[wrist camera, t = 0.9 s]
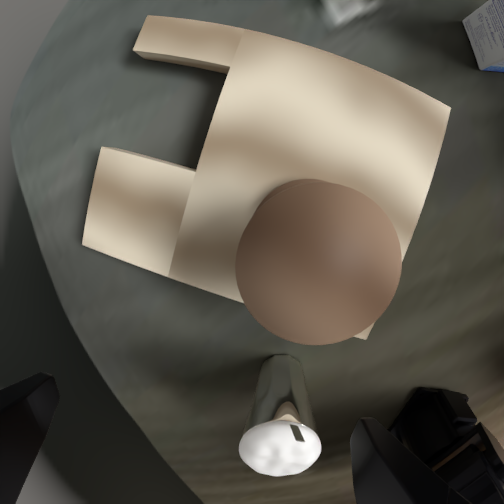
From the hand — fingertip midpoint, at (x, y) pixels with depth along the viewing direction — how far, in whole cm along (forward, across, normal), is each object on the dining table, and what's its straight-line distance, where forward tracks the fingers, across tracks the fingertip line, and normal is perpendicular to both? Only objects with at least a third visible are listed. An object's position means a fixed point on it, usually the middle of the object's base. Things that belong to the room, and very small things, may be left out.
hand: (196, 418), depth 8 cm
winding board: (+14, -1, -6) cm, 16 cm away
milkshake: (+14, -4, +8) cm, 16 cm away
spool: (+12, -4, -2) cm, 13 cm away
